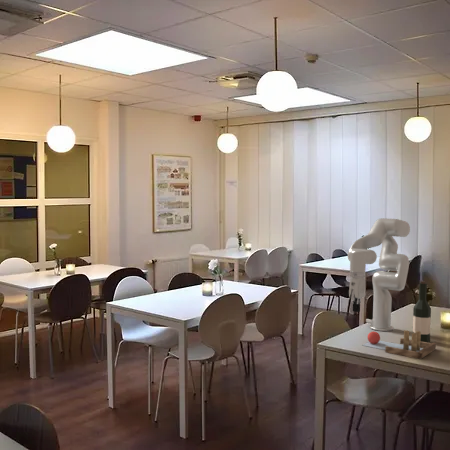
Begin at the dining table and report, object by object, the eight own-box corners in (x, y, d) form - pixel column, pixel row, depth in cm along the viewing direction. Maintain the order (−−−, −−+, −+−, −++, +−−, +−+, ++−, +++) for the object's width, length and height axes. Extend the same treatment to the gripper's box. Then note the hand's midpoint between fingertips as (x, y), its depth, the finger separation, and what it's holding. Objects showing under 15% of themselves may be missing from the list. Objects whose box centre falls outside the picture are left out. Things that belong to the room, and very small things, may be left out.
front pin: (402, 349, 256) (403, 331, 256) (404, 348, 258) (405, 330, 258) (407, 350, 255) (408, 331, 255) (409, 349, 257) (410, 330, 256)
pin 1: (410, 352, 252) (411, 333, 251) (412, 351, 254) (412, 332, 253) (415, 353, 250) (416, 334, 250) (417, 352, 252) (417, 333, 252)
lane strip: (362, 345, 263) (362, 345, 263) (373, 339, 274) (373, 339, 274) (420, 356, 246) (420, 356, 246) (430, 350, 257) (430, 349, 257)
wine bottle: (411, 341, 272) (414, 282, 270) (412, 337, 280) (414, 280, 278) (429, 343, 269) (431, 283, 267) (429, 339, 276) (432, 281, 275)
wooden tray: (385, 352, 252) (385, 345, 252) (401, 343, 269) (401, 337, 268) (421, 359, 242) (421, 352, 242) (435, 349, 259) (435, 342, 258)
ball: (365, 343, 266) (365, 331, 266) (370, 341, 271) (370, 329, 270) (377, 346, 262) (377, 333, 262) (381, 343, 267) (382, 331, 267)
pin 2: (413, 350, 256) (414, 331, 255) (415, 349, 258) (416, 330, 257) (419, 351, 254) (419, 332, 254) (420, 350, 256) (421, 331, 256)
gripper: (358, 277, 262) (357, 314, 263) (370, 274, 274) (369, 310, 275) (344, 275, 267) (342, 312, 268) (356, 272, 279) (355, 308, 280)
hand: (356, 311), depth 271 cm, fingers closed
